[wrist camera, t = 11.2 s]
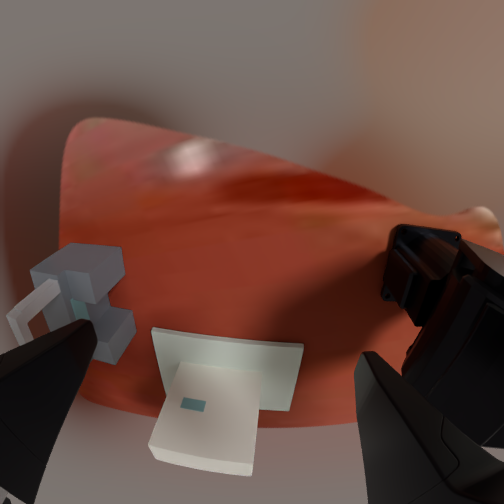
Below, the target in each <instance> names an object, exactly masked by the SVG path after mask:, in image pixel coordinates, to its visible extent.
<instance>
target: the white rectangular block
mask: <svg viewBox="0 0 504 504" xmlns="http://www.w3.org/2000/svg"><path fill="white" fill-rule="evenodd" d="M261 382H262V372H257V371H246V370H237V369H229V368H221V367H213V366H206V365H200V364H193V363H187V362H182V361H181V362H180V364H179V367H178V369H177V372H176V374H175V377H174V379H173V382H172V384H171V387H170V389H169V392H168V394H167V397H166V399H165V402H164V404H163V407H162V409H161V412H160V414H159V417H158V419H157V422H156V425H155V427H154V430H153V432H152V435H151V438H150V440H149V443H148V446H149V448H150V450H151V451H152V453H153V455H154V457H155V458H156V459H157V460H161V461H165V462H168V463H173V464H177V465H181V466H185V467H190V468H195V469H200V470H206V471H212V472H218V473H226V474H233V475H242V476H251V475H252V470H253V463H254V454H255V444H256V434H257V425H258V415H259V404H260V393H261Z"/></svg>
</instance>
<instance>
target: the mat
mask: <svg viewBox="0 0 504 504" xmlns="http://www.w3.org/2000/svg"><path fill="white" fill-rule="evenodd" d="M151 334H152V339H153V343H154V348H155V352H156V357H157V361H158V365H159V369H160V373H161V377H162V381H163V385H164V389H165V392H166V396H167V394H168V392H169V389H170V387H171V384H172V382H173V379H174V377H175V374H176V372H177V369H178V367H179V364H180V362H181V361H182V362H187V363H193V364H200V365H206V366H213V367H221V368H229V369H237V370H246V371H257V372H262V382H261V393H260V404H259V409H261V410H276V411H289V409H290V405H291V401H292V397H293V393H294V389H295V385H296V381H297V376H298V372H299V368H300V363H301V359H302V354H303V350H304V344H302V343H284V342H270V341H257V340H246V339H236V338H227V337H218V336H210V335H202V334H194V333H187V332H180V331H174V330H168V329H161V328H156V327H153V328H152V330H151Z"/></svg>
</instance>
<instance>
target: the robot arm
mask: <svg viewBox="0 0 504 504" xmlns="http://www.w3.org/2000/svg"><path fill="white" fill-rule="evenodd" d="M404 228H405V231H404V232H403V233H401V231H402V229H404ZM456 236H457V238H456V239H455V237H456ZM383 281H384V284H383V288H382V291H381V297H382V299H383V300H384V301H397V303H398V305H399V306H400V308H401V309H405V310H406V312H407V313H408V315H409V317H410V318H411V320H412V322H413V323H414V325H415V326H416V327H421V326H422V329H421V330H420V332H419V334H418V336H417V337H416V339H415V341H414V343H413V344H412V345H411V346H410V347H409V348H408V350H407V352H406V358H405V360H404V362H403V365H402V368H401V371H402V376H401V375H400V374H399V373H398V372H397V371H395V370H394V369H393V368H392V367H391V366H390V365H389V364H388V363H387V362H386V361H385V360H384V359H383V358H381V357H380V356H379V355H378V354H377V353H376V352H374V351H364V352H362V353H361V355H360V358H359V360H358V363H357V365H356V368H355V371H354V382H355V396H356V414H357V422H358V428H359V434H360V440H361V447H362V454H363V461H364V469H365V476H366V486H367V495H368V504H504V462H502V461H500V460H498V459H496V458H495V457H494V456H492V455H491V454H490V453H488V452H487V451H486V450H484V449H483V448H481V447H487V448H497V449H504V255H502V254H500V253H497V252H495V251H493V250H490V249H488V248H485V247H482V246H480V245H477V244H475V243H472V242H469V241H467V240H464V239H461V234H460V233H458V232H456V231H451V230H444V229H437V228H431V227H424V226H416V225H409V224H400V225H399V226H398V227H397V229H396V234H395V239H394V243H393V248H392V250H391V251H390V252H389V257H388V261H387V265H386V269H385V273H384V277H383ZM387 293H389V294H388V295H387V296H385V295H386V294H387ZM97 343H98V338H97V335H96V332H95V329H94V326H93V323H92V322H91V321H90V320H87V319H83V318H81V319H78V320H76V321H74V322H72V323H69V324H67V325H65V326H63V327H61V328H58V329H56V330H54V331H52V332H50V333H47V334H45V335H43V336H41V337H39V338H36V339H34V340H32V341H30V342H28V343H25V344H23V345H21V346H19V347H17V348H15V349H12V350H10V351H8V352H6V353H4V354H1V355H0V504H11V501H10V499H9V498H7V497H6V496H7V494H8V492H9V493H10V494H12V495H13V496H15V497H16V498H18V499H19V500H21V501H23V502H24V503H26V504H34V502H35V498H36V495H37V492H38V489H39V485H40V483H41V480H42V477H43V474H44V471H45V468H46V465H47V462H48V460H49V457H50V454H51V452H52V449H53V446H54V444H55V442H56V439H57V437H58V434H59V432H60V430H61V427H62V425H63V423H64V420H65V418H66V416H67V414H68V411H69V409H70V407H71V405H72V403H73V400H74V398H75V396H76V394H77V392H78V390H79V388H80V386H81V384H82V382H83V379H84V377H85V375H86V372H87V370H88V367H89V364H90V362H91V359H92V357H93V354H94V351H95V349H96V346H97Z"/></svg>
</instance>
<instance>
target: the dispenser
mask: <svg viewBox="0 0 504 504" xmlns="http://www.w3.org/2000/svg"><path fill="white" fill-rule="evenodd" d="M30 273H31V277H32V280H33V283H34V287H35V290H34V291H33V292H32V293H30V294H29V295H28V296H27V297H26V298H24V299H23V300H22V301H21V302H20V303H18V304H17V305H16V306H15V307H14V309H12V310H11V311H10V312H9V313H8V314H7V315H6V316H7V319H8V321H9V324H10V326H11V328H12V330H13V333H14V335H15V337H16V339H17V341H18V343H19V345H20V346H21V345H23V344H25V343H28V342H30V341H32V340H34V339H33V336H32V334H31V332H30V330H29V327H28V325H27V323H28V322H29V321H30V320H31V319H32V318H33V317H34V316H35V315H36V314H37V313H38V312H39V311H40V310H41V309H42V311H43V314H44V317H45V319H46V322H47V325H48V327H49V330H50V332H52V331H54V330H56V329H58V328H61V327H63V326H65V325H67V324H69V323H72V322H74V321H76V320H78V319H81V318H83V319H87V320H90V321H91V322H92V323H93V326H94V329H95V332H96V335H97V338H98V343H97V346H96V349H95V351H94V354H93V357H92V359H96V360H99V361H103V362H106V363H109V364H113V365H116V363H117V362H118V360H119V359H120V357H121V355H122V354H123V352H124V351H125V349H126V348H127V346H128V344H129V343H130V341H131V340H132V338H133V337H134V335H135V334H136V332H137V330H136V326H135V322H134V317H133V313H132V310H127V309H122V308H116V307H111V306H110V302H109V298H108V292H109V291H110V290H111V289H112V288H113V287H114V286H115V285H116V284H117V283H118V282H119V280H120V279H121V278H122V277H123V276H124V275H125V269H124V263H123V256H122V249H121V247H114V246H103V245H91V244H79V243H70V244H68V245H67V246H65V247H63V248H62V249H60V250H59V251H57V252H56V253H54V254H53V255H51V256H50V257H48V258H47V259H45V260H44V261H42V262H41V263H39V264H38V265H36V266H35V267H34V268H32V269H31V270H30ZM92 359H91V361H92Z"/></svg>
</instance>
